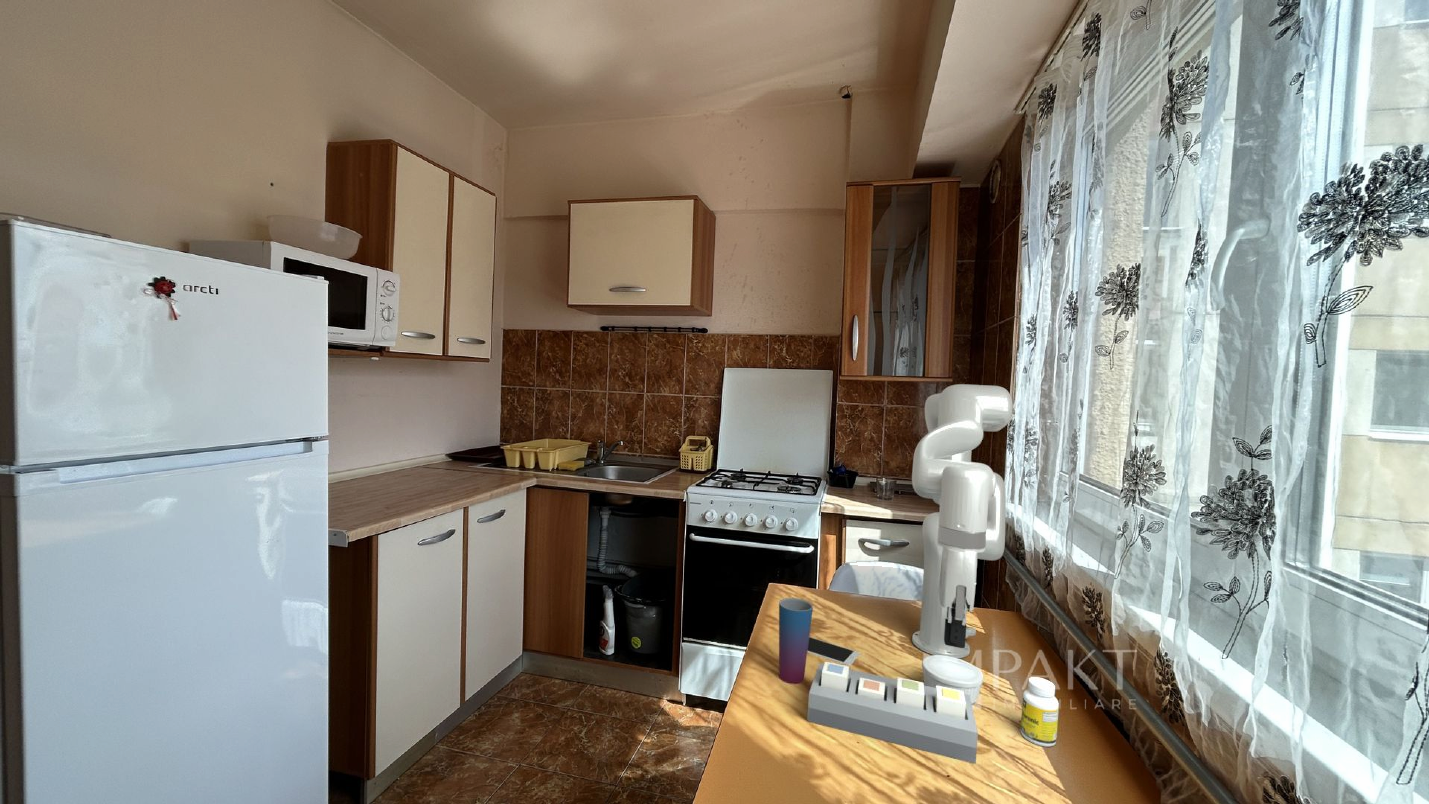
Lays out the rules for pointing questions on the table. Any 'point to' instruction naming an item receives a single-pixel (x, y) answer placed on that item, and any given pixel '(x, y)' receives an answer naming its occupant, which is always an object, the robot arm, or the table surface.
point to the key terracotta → (871, 688)
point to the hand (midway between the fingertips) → (954, 644)
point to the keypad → (893, 717)
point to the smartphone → (831, 651)
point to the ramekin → (952, 675)
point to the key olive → (910, 693)
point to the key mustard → (950, 702)
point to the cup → (793, 638)
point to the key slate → (835, 676)
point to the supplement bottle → (1040, 712)
